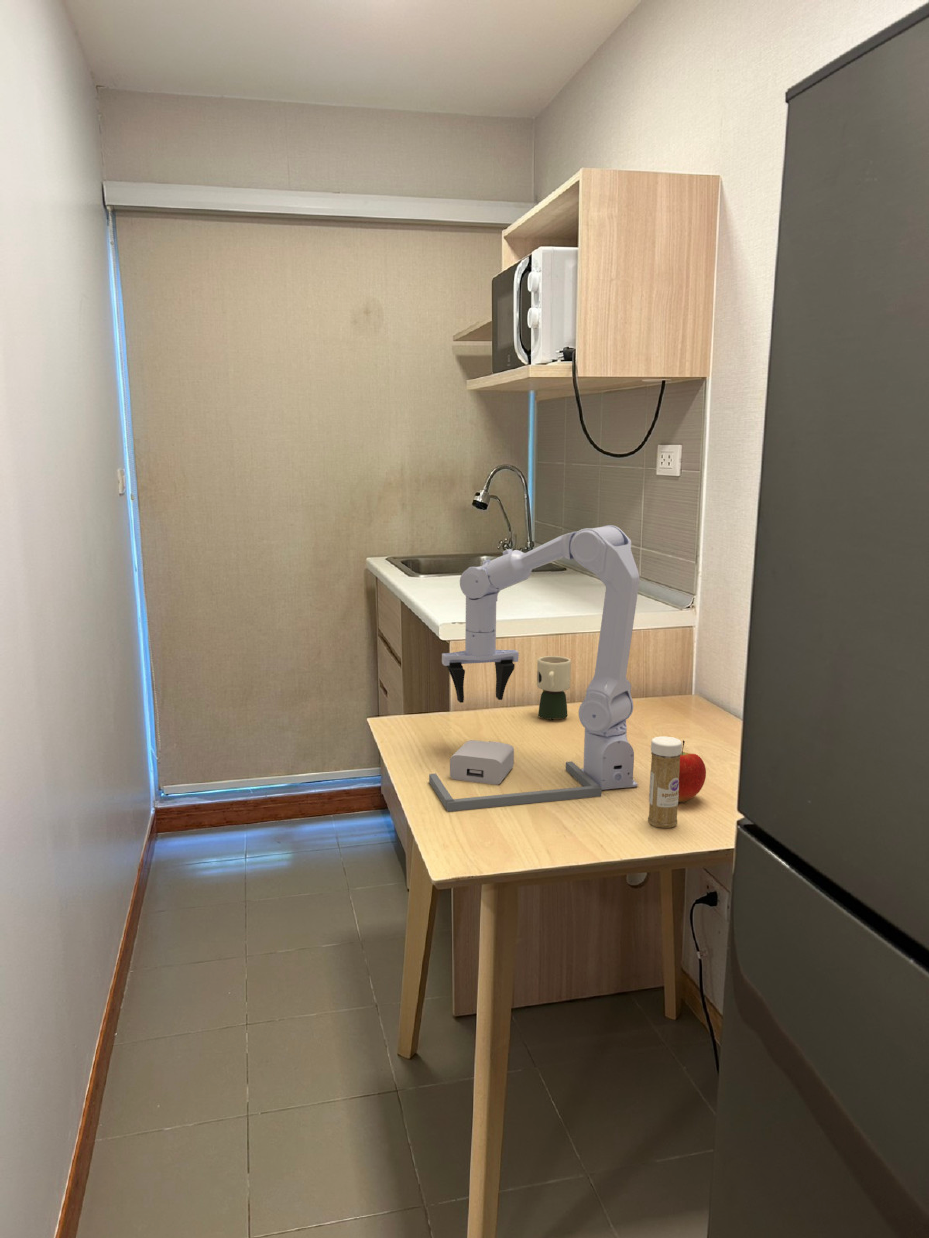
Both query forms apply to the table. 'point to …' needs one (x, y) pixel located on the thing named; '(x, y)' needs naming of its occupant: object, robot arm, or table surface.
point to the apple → (690, 775)
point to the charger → (482, 762)
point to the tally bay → (586, 791)
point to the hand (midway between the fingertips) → (479, 699)
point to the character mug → (553, 685)
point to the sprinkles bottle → (664, 781)
